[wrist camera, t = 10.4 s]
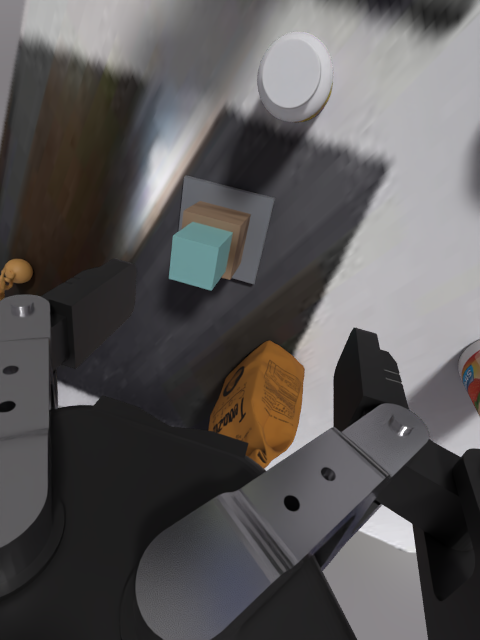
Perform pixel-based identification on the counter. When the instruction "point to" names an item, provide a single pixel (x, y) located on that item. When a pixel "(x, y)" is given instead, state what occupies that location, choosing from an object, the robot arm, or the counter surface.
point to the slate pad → (238, 201)
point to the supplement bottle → (295, 77)
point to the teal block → (199, 255)
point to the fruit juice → (471, 372)
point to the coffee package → (261, 402)
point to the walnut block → (224, 221)
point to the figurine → (15, 274)
